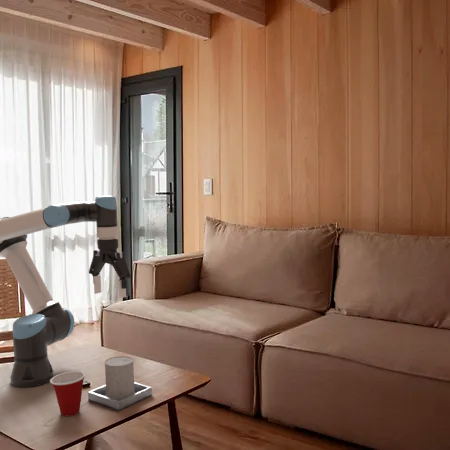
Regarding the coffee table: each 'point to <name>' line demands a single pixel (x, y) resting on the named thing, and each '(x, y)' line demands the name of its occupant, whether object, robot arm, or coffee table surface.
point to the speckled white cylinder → (119, 377)
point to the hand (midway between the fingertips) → (110, 295)
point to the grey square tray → (100, 398)
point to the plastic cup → (68, 391)
